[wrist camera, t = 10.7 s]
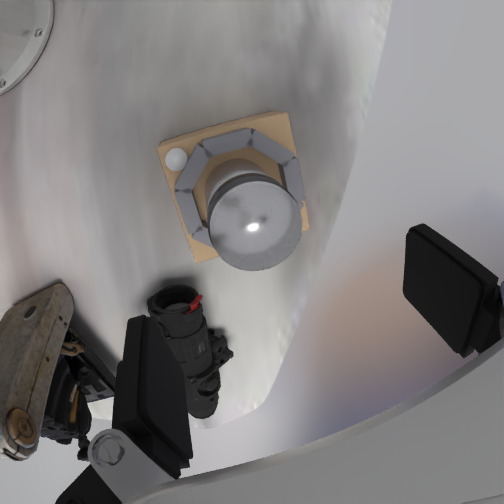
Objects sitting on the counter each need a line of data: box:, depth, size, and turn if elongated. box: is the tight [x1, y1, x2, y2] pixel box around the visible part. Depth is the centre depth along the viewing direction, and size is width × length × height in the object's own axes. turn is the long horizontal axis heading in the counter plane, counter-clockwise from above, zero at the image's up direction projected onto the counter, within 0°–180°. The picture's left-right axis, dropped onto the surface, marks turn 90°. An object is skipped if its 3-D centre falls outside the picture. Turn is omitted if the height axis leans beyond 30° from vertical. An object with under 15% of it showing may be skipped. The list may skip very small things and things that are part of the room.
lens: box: [205, 158, 303, 271], centre depth 20 cm, size 5×5×8 cm
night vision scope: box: [147, 285, 233, 419], centre depth 31 cm, size 8×18×10 cm
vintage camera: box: [0, 284, 116, 461], centre depth 23 cm, size 10×16×20 cm, turn 19°
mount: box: [157, 111, 310, 263], centre depth 25 cm, size 10×10×6 cm
